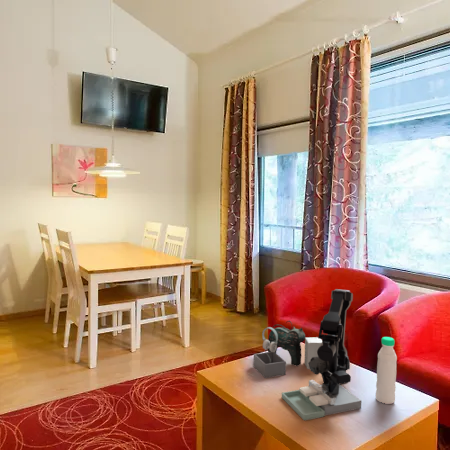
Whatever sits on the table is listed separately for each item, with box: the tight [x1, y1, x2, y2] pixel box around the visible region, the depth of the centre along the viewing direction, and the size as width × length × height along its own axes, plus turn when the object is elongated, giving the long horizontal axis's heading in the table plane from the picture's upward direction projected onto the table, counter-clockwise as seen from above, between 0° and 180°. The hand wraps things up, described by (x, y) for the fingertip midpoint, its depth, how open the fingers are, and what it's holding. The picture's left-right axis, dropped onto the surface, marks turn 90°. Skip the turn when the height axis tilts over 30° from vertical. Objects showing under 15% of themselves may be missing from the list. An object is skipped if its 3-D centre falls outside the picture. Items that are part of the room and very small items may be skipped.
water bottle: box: [375, 336, 398, 405], centre depth 157 cm, size 7×7×25 cm
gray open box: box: [253, 351, 287, 379], centre depth 183 cm, size 10×12×6 cm
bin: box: [281, 389, 326, 421], centre depth 153 cm, size 8×17×2 cm, turn 20°
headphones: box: [261, 326, 278, 364], centre depth 182 cm, size 8×4×20 cm, turn 46°
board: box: [308, 383, 362, 416], centre depth 157 cm, size 16×16×3 cm
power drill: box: [267, 320, 306, 367], centre depth 194 cm, size 20×6×20 cm, turn 43°
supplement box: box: [304, 337, 322, 370], centre depth 188 cm, size 7×7×13 cm
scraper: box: [308, 379, 339, 405], centre depth 156 cm, size 8×15×4 cm, turn 20°
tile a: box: [298, 385, 317, 397], centre depth 157 cm, size 5×5×1 cm
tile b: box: [309, 395, 328, 406], centre depth 151 cm, size 5×5×1 cm
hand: (328, 390), depth 156 cm, fingers closed on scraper, 2 cm apart
